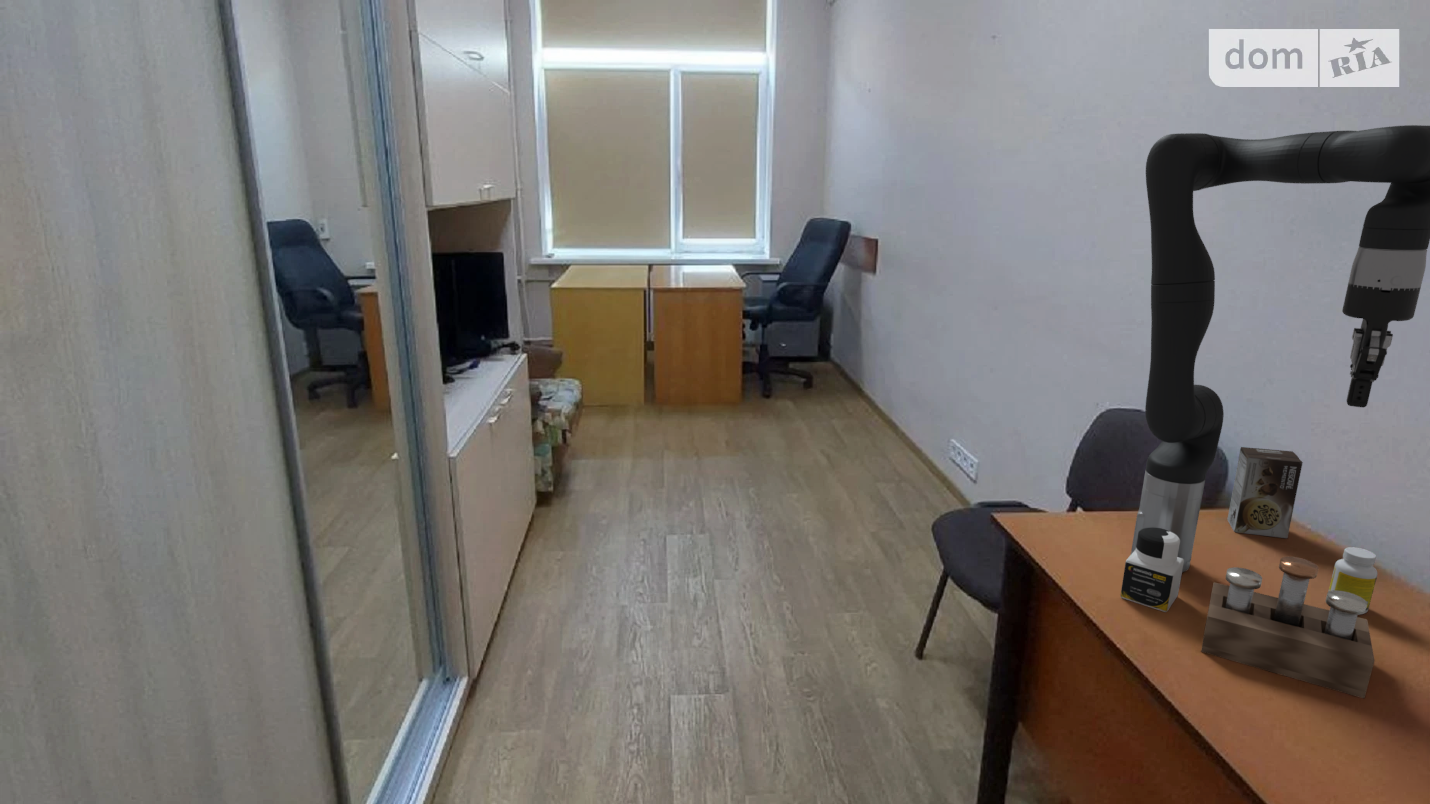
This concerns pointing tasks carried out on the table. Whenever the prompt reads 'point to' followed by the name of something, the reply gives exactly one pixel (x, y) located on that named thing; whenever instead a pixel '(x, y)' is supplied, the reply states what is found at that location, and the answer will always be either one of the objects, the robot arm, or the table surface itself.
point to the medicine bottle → (1153, 569)
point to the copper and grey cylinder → (1293, 589)
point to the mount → (1289, 643)
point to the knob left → (1241, 588)
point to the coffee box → (1264, 492)
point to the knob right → (1343, 613)
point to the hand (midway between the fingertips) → (1356, 405)
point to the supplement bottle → (1355, 573)
